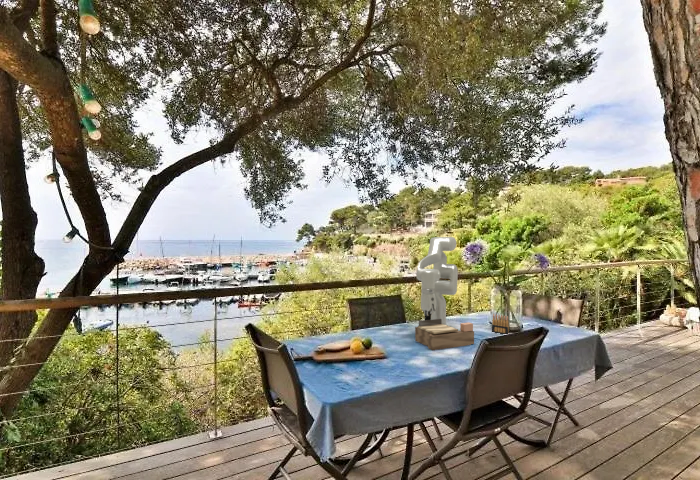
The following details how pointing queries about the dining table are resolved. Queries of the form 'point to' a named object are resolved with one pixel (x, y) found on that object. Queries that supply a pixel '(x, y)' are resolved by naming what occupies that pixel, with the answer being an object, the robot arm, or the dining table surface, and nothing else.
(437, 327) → the toolbox lid
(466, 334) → the toolbox
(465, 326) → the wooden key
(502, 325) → the ammunition clip
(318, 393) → the dining table surface
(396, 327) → the dining table surface
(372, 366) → the dining table surface
